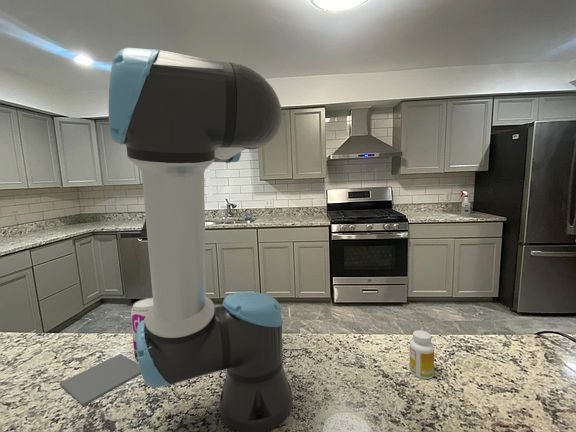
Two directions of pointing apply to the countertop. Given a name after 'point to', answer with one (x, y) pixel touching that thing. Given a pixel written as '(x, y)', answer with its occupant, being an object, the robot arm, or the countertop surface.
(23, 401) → the countertop surface
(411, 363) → the supplement bottle
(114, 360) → the mat
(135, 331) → the supplement can
